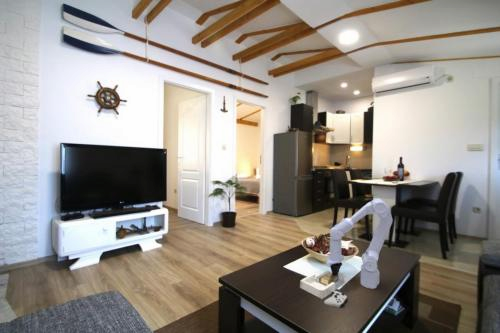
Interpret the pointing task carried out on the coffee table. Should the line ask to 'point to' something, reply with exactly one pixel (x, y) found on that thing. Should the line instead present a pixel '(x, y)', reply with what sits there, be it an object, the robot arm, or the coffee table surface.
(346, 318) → the coffee table surface
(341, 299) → the gaming controller
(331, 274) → the chip
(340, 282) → the slot block
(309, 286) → the tray
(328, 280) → the chip
